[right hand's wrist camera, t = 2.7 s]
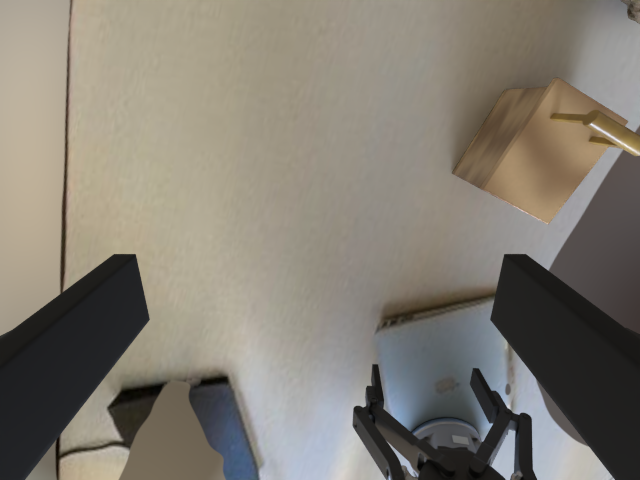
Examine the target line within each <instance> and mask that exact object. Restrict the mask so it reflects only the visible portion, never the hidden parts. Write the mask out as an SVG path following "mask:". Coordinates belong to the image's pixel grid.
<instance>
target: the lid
mask: <svg viewBox="0 0 640 480" xmlns="http://www.w3.org/2000/svg"><path fill="white" fill-rule="evenodd" d="M627 122H628V121H627V120H626V119H624V118H622V117H621V116H619V115H618V114H616V113H614V112H613V111H611V110H609V109H608V108H606V107H605V106H603V105H601V104H600V103H598V102H597V101H595V100H593V99H592V98H590V97H589V96H587V95H585V94H584V93H582V92H581V91H579V90H577V89H576V88H574V87H573V86H571V85H569V84H568V83H566V82H565V81H563V80H561V79H560V78H554V79H553V80H552V81H551V83H550V84H549V86H548V87H547V89H546V90H545V92H544V93H543V95H542V96H541V98H540V99H539V101H538V102H537V104H536V105H535V107H534V108H533V110H532V111H531V113H530V114H529V115H528V117H527V118H526V120H525V121H524V123H523V124H522V126H521V127H520V129H519V130H518V132H517V133H516V135H515V136H514V138H513V139H512V141H511V142H510V144H509V145H508V147H507V148H506V150H505V151H504V153H503V154H502V156H501V157H500V159H499V160H498V162H497V163H496V164H495V166H494V167H493V169H492V170H491V172H490V173H489V175H488V176H487V178H486V179H485V181H484V182H483V184H482V185H481V187H480V189H482V190H484V191H486V192H488V193H490V194H491V195H493V196H495V197H497V198H499V199H501V200H503V201H505V202H507V203H508V204H510V205H512V206H514V207H516V208H518V209H520V210H522V211H523V212H525V213H527V214H529V215H531V216H533V217H535V218H537V219H538V220H540V221H542V222H544V223H546V224H549V223H550V222H551V220H552V219H553V218H554V216H555V215H556V214H557V213H558V211H559V210H560V209H561V207H562V206H563V205H564V204H565V202H566V201H567V200H568V198H569V197H570V196H571V195H572V193H573V192H574V191H575V189H576V188H577V187H578V185H579V184H580V183H581V182H582V180H583V179H584V178H585V176H586V175H587V174H588V173H589V171H590V170H591V169H592V167H593V166H594V165H595V164H596V162H597V161H598V160H599V158H600V157H601V156H602V155H603V153H604V152H605V151H606V149H607V148H608V147H615V148H621V149H624V150H626V151H627V152H629V153H631V154H632V155H634V156H640V136H639V135H638V134H636V133H635V132H633V131H631V130H630V129H628V128H626V127H625V125H626V124H627Z"/></svg>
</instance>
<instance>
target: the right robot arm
mask: <svg viewBox="0 0 640 480" xmlns="http://www.w3.org/2000/svg"><path fill="white" fill-rule="evenodd" d="M149 320H150V319H149V314H148V309H147V305H146V300H145V295H144V291H143V286H142V282H141V277H140V272H139V268H138V263H137V258H136V254H114V255H112V256H111V257H110V258H108V259H107V260H106V261H104V262H103V263H102V264H100V265H99V266H98V267H96V268H95V269H94V270H92V271H91V272H90V273H88V274H87V275H86V276H84V277H83V278H82V279H80V280H79V281H77V282H76V283H75V284H73V285H72V286H71V287H69V288H68V289H67V290H65V291H64V292H63V293H61V294H60V295H59V296H57V297H56V298H55V299H53V300H52V301H51V302H49V303H48V304H47V305H45V306H44V307H43V308H41V309H40V310H39V311H37V312H36V313H34V314H33V315H32V316H30V317H29V318H28V319H26V320H25V321H24V322H22V323H21V324H20V325H18V326H17V327H16V328H14V329H13V330H11V331H9V332H7V333H5V334H3V335H1V336H0V480H25V479H26V478H27V476H28V475H29V474H30V473H31V471H32V470H33V469H34V467H35V466H36V465H37V464H38V462H39V461H40V460H41V458H42V457H43V456H44V455H45V453H46V452H47V451H48V449H49V448H50V447H51V446H52V444H53V443H54V442H55V440H56V439H57V438H58V437H59V435H60V434H61V433H62V431H63V430H64V429H65V428H66V426H67V425H68V424H69V422H70V421H71V420H72V419H73V417H74V416H75V415H76V414H77V412H78V411H79V410H80V408H81V407H82V406H83V405H84V403H85V402H86V401H87V399H88V398H89V397H90V396H91V394H92V393H93V392H94V390H95V389H96V388H97V387H98V385H99V384H100V383H101V381H102V380H103V379H104V378H105V376H106V375H107V374H108V372H109V371H110V370H111V369H112V367H113V366H114V365H115V363H116V362H117V361H118V360H119V358H120V357H121V356H122V354H123V353H124V352H125V351H126V349H127V348H128V347H129V346H130V344H131V343H132V342H133V340H134V339H135V338H136V337H137V335H138V334H139V333H140V331H141V330H142V329H143V328H144V326H145V325H146V324H147V322H148V321H149ZM490 320H491V321H492V322H493V324H494V325H495V326H496V328H497V329H498V330H499V331H500V333H501V334H502V335H503V337H504V338H505V339H506V340H507V342H508V343H509V344H510V346H511V347H512V348H513V349H514V351H515V352H516V353H517V354H518V356H519V357H520V358H521V360H522V361H523V362H524V363H525V365H526V366H527V367H528V369H529V370H530V371H531V372H532V374H533V375H534V376H535V378H536V379H537V380H538V381H539V383H540V384H541V385H542V387H543V388H544V389H545V390H546V392H547V393H548V394H549V396H550V397H551V398H552V399H553V401H554V402H555V403H556V405H557V406H558V407H559V408H560V410H561V411H562V412H563V414H564V415H565V416H566V417H567V419H568V420H569V421H570V422H571V424H572V425H573V426H574V427H575V429H576V430H577V431H578V433H579V434H580V435H581V437H582V438H583V439H584V440H585V442H586V443H587V444H588V446H589V447H590V448H591V449H592V451H593V452H594V453H595V455H596V456H597V457H598V458H599V460H600V461H601V462H602V464H603V465H604V466H605V467H606V469H607V470H608V471H609V473H610V474H611V475H612V476H613V478H614V479H615V480H640V334H638V333H636V332H634V331H632V330H630V329H628V328H624V327H623V326H622V325H620V324H619V323H618V322H616V321H615V320H614V319H612V318H611V317H610V316H608V315H607V314H605V313H604V312H603V311H601V310H600V309H599V308H597V307H596V306H595V305H593V304H592V303H591V302H589V301H588V300H587V299H585V298H584V297H583V296H581V295H580V294H579V293H577V292H576V291H575V290H573V289H572V288H571V287H569V286H568V285H567V284H565V283H564V282H562V281H561V280H560V279H558V278H557V277H556V276H554V275H553V274H552V273H550V272H549V271H548V270H546V269H545V268H544V267H542V266H541V265H540V264H538V263H537V262H536V261H534V260H533V259H532V258H530V257H529V256H528V255H526V254H504V258H503V263H502V268H501V272H500V277H499V282H498V286H497V291H496V295H495V300H494V305H493V309H492V314H491V319H490Z"/></svg>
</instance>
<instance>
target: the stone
mask: <svg viewBox="0 0 640 480" xmlns="http://www.w3.org/2000/svg"><path fill="white" fill-rule="evenodd" d="M621 1H622V2H623V3H625V4H627V5H628V11H627V13H628V18H629V19H631V20H634V21H636V22H637V23H639V24H640V0H621Z"/></svg>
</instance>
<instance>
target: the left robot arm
mask: <svg viewBox="0 0 640 480" xmlns="http://www.w3.org/2000/svg"><path fill="white" fill-rule="evenodd" d="M371 382H372V386H367V387H366V396H365V398H366V407H363V408H362V407H361V406H355V407H354V411H353V427H354V429H355V431H356V432H357V434H358V435H359V437H360V439H361V440H362V442H363V443H364V445H365V447H366V448H367V450H368V451H369V453H370V454H371V456H372V458H373V459H374V461H375V462H376V464H377V466H378V467H379V469H380V470H381V472H382V474H383V475H384V477H385V478H386V480H505V478H504V477H503V476H502V475H500V474H499V473H498V472H497V471H496V470H495V469H493V468H492V467H491V465H492V463H493V461H494V459H495V457H496V455H497V453H498V451H499V449H500V447H501V445H502V443H503V441H504V439H505V437H506V435H507V434H508V431H509V430H513V431H515V460H514V473H513V474H512V475H511V479H510V480H537V478H536V476H535V474H534V471H533V463H532V419H531V417H530V416H529V415H528V414H526V413H520V415H517V414H514V413H512V411H511V410H510V409H508V408H507V407H506V405H505V403H504V402H503V400H502V398H501V396H500V395H499V393H497V392H496V391H491V389H490V388H489V386H488V384H487V382H486V381H485V379H484V377H483V375H482V373H481V372H480V370H479V368H473V371H472V376H471V382H470V385H471V387H472V389H473V391H474V393H475V395H476V397H477V399H478V401H479V403H480V405H481V407H482V409H483V411H484V413H485V415H486V417H487V419H488V421H489V423H493V425H492V427H491V429H490V431H489V432H488V434H487V436H486V438H485V440H484V442H482V441H481V439H480V436H479V434H478V432H477V431H476V429H475V428H474V427H473V426H472V425H470V424H469V423H467V422H465V421H463V420H459V419H455V418H440V419H435V420H431V421H428V422H426V423H424V424H422V425H420V426H419V427H417V428H416V429H415V430H414V431H413V432H412V433H411V432H410V431H409V430H408V429H406V428H405V427H404V426H403V425H402V424H401V423H399V422H398V421H397V420H396V419H395V418H393V417H392V416H391V415H390V414H389V413H388V412H386V411H385V410H384V409H383V407H384V398H383V392H382V386H381V380H380V374H379V368H378V364H372V377H371ZM387 441H388V442H389V443H390V444H391V445H392V446H393V447H394V448H395V449H396V450H397V451H398V452H399V453H400V454H401V455H403V456H404V457H405V458H406V459H407V460H408V461H409V463H410V465H411V467H412V468H413V470H414V472H415V473H416V475H417V476H418V477H413V476H411V475H410V473H409V472H408V470H407V467H406V466H404V465H403V466H401V464H400V461H399V459H398V457H397V456H396V454H395V453H394V451H393V450H392V448H391V447H390V446H389V444H388V443H387Z"/></svg>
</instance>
